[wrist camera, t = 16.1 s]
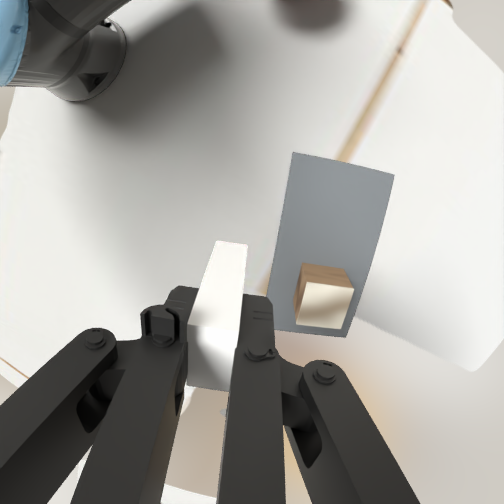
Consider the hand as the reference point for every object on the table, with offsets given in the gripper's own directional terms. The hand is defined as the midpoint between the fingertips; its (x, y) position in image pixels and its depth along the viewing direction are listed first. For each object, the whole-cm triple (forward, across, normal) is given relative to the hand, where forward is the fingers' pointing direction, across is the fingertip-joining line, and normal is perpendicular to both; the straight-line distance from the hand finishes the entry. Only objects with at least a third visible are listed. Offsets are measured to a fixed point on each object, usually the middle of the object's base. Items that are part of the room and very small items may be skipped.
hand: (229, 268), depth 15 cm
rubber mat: (+31, +14, -11) cm, 36 cm away
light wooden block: (+24, +13, -16) cm, 32 cm away
